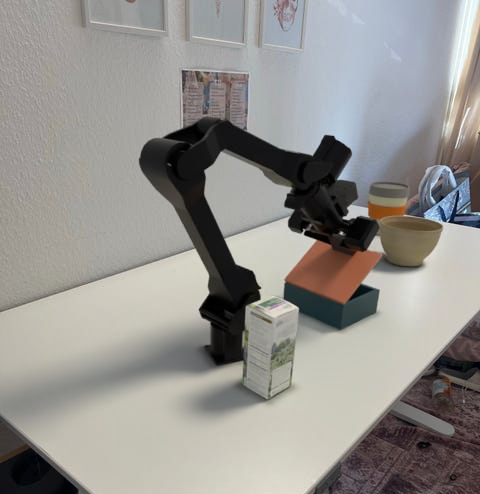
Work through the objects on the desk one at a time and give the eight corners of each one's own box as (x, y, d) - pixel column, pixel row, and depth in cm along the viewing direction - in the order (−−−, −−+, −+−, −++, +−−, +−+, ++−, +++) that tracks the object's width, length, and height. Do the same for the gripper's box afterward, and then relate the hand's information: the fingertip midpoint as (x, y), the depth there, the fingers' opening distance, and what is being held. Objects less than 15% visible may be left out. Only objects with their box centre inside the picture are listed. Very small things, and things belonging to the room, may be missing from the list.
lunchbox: (319, 290, 113) (321, 269, 110) (376, 312, 102) (380, 289, 100) (282, 304, 105) (284, 282, 103) (340, 330, 95) (343, 306, 92)
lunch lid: (321, 238, 106) (314, 221, 102) (382, 256, 96) (377, 238, 92) (285, 281, 103) (276, 265, 99) (344, 305, 92) (337, 288, 89)
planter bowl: (448, 267, 128) (457, 228, 123) (399, 274, 123) (406, 233, 118) (408, 249, 142) (415, 213, 137) (362, 255, 136) (368, 217, 131)
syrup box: (265, 372, 80) (270, 293, 74) (292, 387, 77) (299, 305, 70) (241, 385, 77) (243, 303, 70) (268, 401, 73) (273, 316, 67)
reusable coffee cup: (407, 230, 160) (415, 184, 154) (396, 239, 151) (404, 191, 144) (370, 224, 166) (376, 180, 160) (358, 232, 157) (364, 185, 150)
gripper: (381, 175, 83) (405, 225, 95) (300, 161, 95) (329, 207, 107) (349, 228, 82) (377, 272, 94) (271, 207, 94) (304, 248, 106)
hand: (346, 247), depth 100 cm, fingers closed on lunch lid, 5 cm apart
